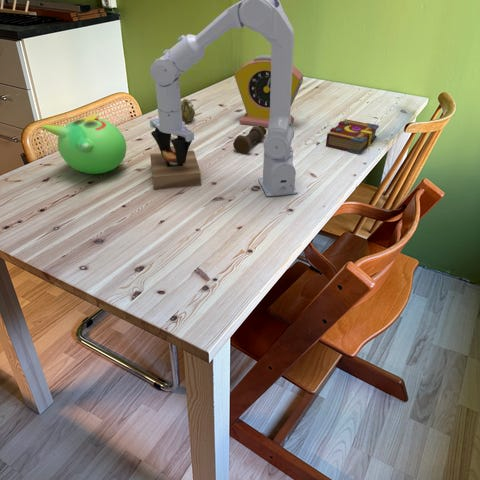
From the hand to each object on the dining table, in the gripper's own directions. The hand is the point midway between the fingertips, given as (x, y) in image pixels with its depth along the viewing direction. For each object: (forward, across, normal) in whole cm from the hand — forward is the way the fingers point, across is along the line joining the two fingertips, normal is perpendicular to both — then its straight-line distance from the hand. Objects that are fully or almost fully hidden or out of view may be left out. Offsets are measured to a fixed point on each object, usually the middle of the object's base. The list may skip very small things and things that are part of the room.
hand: (174, 159), depth 116 cm
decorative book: (+5, -23, -52) cm, 57 cm away
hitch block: (+4, 0, 0) cm, 4 cm away
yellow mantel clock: (+5, +6, -47) cm, 48 cm away
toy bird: (+5, +18, +13) cm, 23 cm away
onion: (+5, +28, -29) cm, 41 cm away
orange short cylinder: (+2, 0, 0) cm, 3 cm away
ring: (+5, +20, -15) cm, 25 cm away
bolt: (+5, -2, -30) cm, 30 cm away
